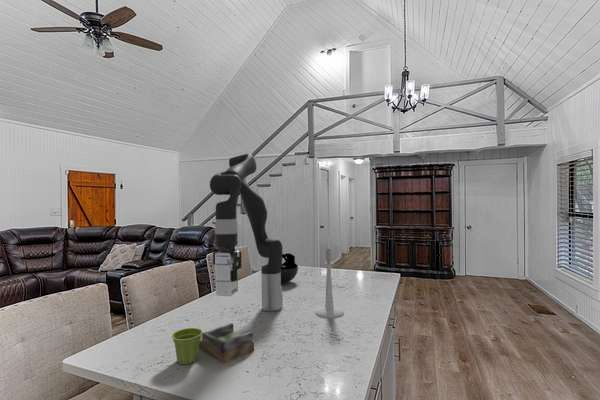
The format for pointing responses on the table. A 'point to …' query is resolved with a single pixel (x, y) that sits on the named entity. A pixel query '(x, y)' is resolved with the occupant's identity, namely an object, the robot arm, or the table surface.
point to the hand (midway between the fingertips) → (226, 279)
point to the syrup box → (224, 275)
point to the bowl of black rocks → (288, 268)
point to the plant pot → (187, 344)
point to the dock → (226, 343)
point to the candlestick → (329, 294)
